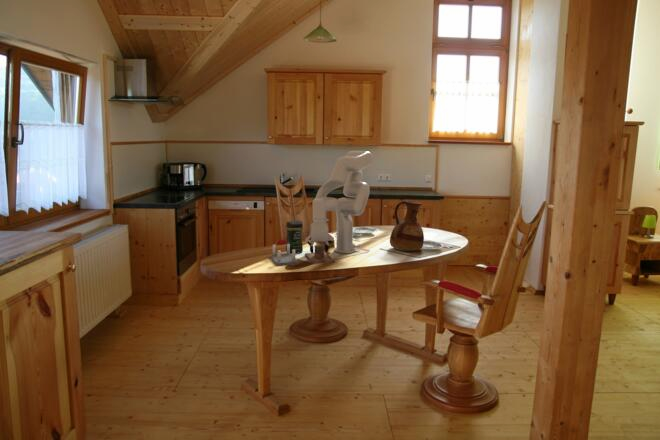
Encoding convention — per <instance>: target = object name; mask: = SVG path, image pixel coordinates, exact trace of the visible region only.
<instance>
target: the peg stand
mask: <svg viewBox="0 0 660 440" xmlns="http://www.w3.org/2000/svg"><path fill="white" fill-rule="evenodd" d="M276 248H277V247H276V244H272V254H269V259H270V260H271V259H272V260H271V261H272V263H273V264H274V265H275V266H276V267H284V266H283V265H285V266H296V265H299V264H300V260H299V261H298V259H297V258H296V253H295V249H293V250H292V253H290V244H287V252H286V253H282V251H281V250H278V249H277V250H276ZM276 251H277V252H276Z"/></svg>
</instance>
